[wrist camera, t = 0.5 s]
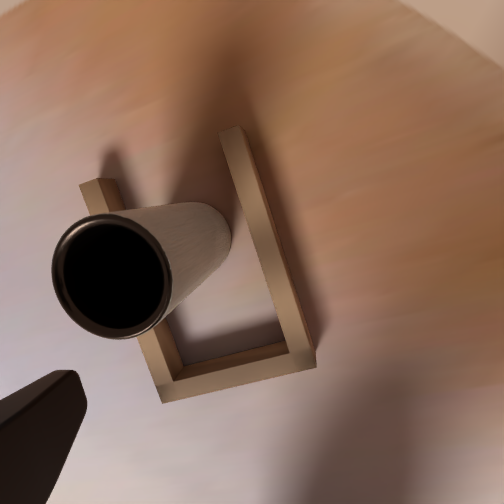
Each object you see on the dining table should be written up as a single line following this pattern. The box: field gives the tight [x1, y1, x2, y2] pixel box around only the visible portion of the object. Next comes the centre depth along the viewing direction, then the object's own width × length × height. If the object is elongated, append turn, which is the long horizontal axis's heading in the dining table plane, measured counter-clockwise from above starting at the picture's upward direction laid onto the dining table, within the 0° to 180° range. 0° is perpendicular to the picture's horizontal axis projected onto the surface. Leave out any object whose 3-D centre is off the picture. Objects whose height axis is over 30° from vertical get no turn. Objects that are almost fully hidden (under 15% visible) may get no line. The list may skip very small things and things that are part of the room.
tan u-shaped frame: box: [79, 125, 317, 404], centre depth 22 cm, size 14×10×2 cm
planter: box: [51, 202, 231, 340], centre depth 18 cm, size 4×4×10 cm
